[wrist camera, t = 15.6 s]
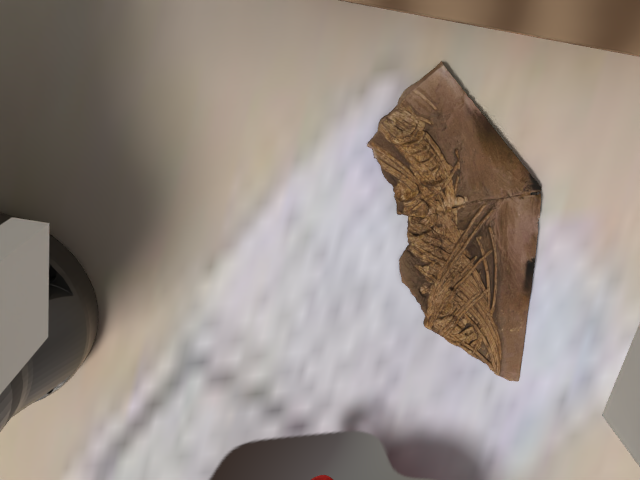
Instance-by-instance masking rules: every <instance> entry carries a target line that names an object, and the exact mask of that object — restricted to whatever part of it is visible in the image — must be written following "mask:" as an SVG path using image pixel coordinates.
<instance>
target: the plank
mask: <svg viewBox="0 0 640 480" xmlns="http://www.w3.org/2000/svg"><path fill="white" fill-rule="evenodd" d="M340 1H346V2H351V3H356V4H362V5H367V6H372V7H378V8H383V9H388V10H394V11H399V12H404V13H410V14H415V15H420V16H426V17H431V18H436V19H442V20H447V21H452V22H458V23H463V24H469V25H474V26H479V27H485V28H490V29H495V30H501V31H506V32H511V33H517V34H522V35H527V36H533V37H538V38H543V39H549V40H554V41H559V42H565V43H570V44H575V45H581V46H586V47H591V48H597V49H602V50H607V51H613V52H618V53H623V54H629V55H634V56H639V57H640V0H340Z"/></svg>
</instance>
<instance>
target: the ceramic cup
mask: <svg viewBox="0 0 640 480" xmlns="http://www.w3.org/2000/svg"><path fill="white" fill-rule="evenodd" d="M311 480H333V479H332V478H330V477H329V476H326V475H320V476H317V477H314V478H313V479H311Z"/></svg>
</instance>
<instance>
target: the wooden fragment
mask: <svg viewBox="0 0 640 480" xmlns="http://www.w3.org/2000/svg"><path fill="white" fill-rule="evenodd" d="M367 146H368V147H370V148H372V150H373V153H374V158H376V159H377V161H378V162H379V164H380V165H381V169H382V173H383V175H384V177H385V178H386V179H387V181H388V182H389V183H390V184H392V185H393V191H394V192H395V195H394V197H395V200H396V203H397V214H398V215H401V214H403V215H407V216H408V228H407V229H408V232H407V237H408V243H409V245H408V246H407V247H406V250H405V251H404V252H403V255H402V256H401V258H400V260H399V265H400V273H401V277H402V283H404V284H405V285H406V286H407V287H408V288H409V289H410V291H411V293H412V295H414V296H415V298H416V300H417V302H418V303H420V305H421V309H422V310H423V312H424V314H425V316H426V317H425V319H424V323H423V324H424V326H425V327H426V328H428V329H430V330H432V331H433V332H435V333H437V334H439V335H440V336H442V337H444V338H445V339H446V340H447V341H448V342H449V343H451V344H453V345H455V346H459V347H461V348H462V349H463V350H465V351H466V352H467V353H468V354H470V355H471V356H473V357H475V358H476V359H479V360H481V361H482V362H483V363H486V364H487V365H488V366H489V368H490V369H491V370H492V371H493V372H494V373H495V374H496V375H498V376H501V377H503V378H505V379H507V380H509V381H519V377H520V369H521V361H522V354H523V347H524V338H525V331H526V322H527V314H528V306H529V299H530V294H531V287H532V277H533V270H534V263H535V254H536V245H537V235H538V227H537V226H538V223H537V222H538V221H539V220H538V218H540V205H541V193H539V194H538V195H537V192H540V191H541V187H540V185H539V184H538V183H537V181H535V179H534V178H532V176H531V175H530V173H529V172H528V171H527V169H526V168H525V167H524V166H523V165H522V163H521V162H520V161H519V160H518V158H517V157H516V156H515V154H514V153H513V152H512V150H511V149H510V148H509V147H508V146H507V144H506V143H505V142H504V141H503V140H502V138H501V137H500V136H499V134H498V133H497V132H496V131H495V129H494V128H493V127H492V125H491V124H490V123H489V122H488V120H487V119H486V117H485V116H484V115H482V113H481V112H480V110H479V109H478V108H477V107H476V106H475V104H474V103H473V101H472V100H471V99H470V98H468V95H467V94H466V92H465V91H464V90H463V89H462V88H461V86H460V85H459V84H458V83H457V81H456V80H455V79H454V78H453V77H452V75H451V74H450V73H449V71H448V70H447V69H446V68H445V66H444V65H443V63H442V61H441V62H440V63H439V64H438V65H437V66H436V67H435V68H434V69H433V70H431V71H430V72H429V73H428V74H426V75H425V76H424V77H423V78H422V79H420V80H419V81H418V82H416V83H414V84H413V85H411V86H410V87H408V88H407V89H406V90H405V91H404V92H403V93H402V95H401V97H400V98H399V101H398V105H397V106H396V107H395V108H394V109H393V110H392V111H391V112H390V113H389V114H388V115H386V116H384V117H383V118H381V120H380V122H379V125H378V132H377V133H376V134H375V135H374V136H373V138H372V139H371V140H370V141H369V142H368V144H367ZM532 192H536V195H531V194H530V193H532Z"/></svg>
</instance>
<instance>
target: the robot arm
mask: <svg viewBox="0 0 640 480" xmlns="http://www.w3.org/2000/svg"><path fill="white" fill-rule="evenodd" d="M97 328H98V307H97V301H96V297H95V293H94V290H93V287H92V285H91V283H90V280H89V279H88V277H87V275H86V273H85V271H84V270H83V268H82V267H81V265H80V264H79V262H78V261H77V260H76V259H75V257H74V256H73V255H72V254H71V253H70V252H69V251H68V250H67V249H66V248H65V247H64V246H63V245H62V244H61V243H60V242H59V241H57V240H56V239H55V238H54V237H52V236H51V235H49V223H45V222H39V221H33V220H26V219H20V218H15V217H12V216H9V215H5V214H0V432H1V430H2V429H3V427H4V426H5V425H6V424H7V422H8V421H9V420H10V418H11V417H13V416H14V415H16V414H17V413H18V412H20V411H21V410H23V409H24V408H26V407H27V406H29V405H30V404H32V403H34V402H36V401H39V400H41V399H43V398H45V397H47V396H48V395H50V394H52V393H54V392H55V391H57V390H58V389H59V388H61V387H62V386H63V385H64V384H65V383H66V382H67V381H68V380H69V379H70V378H71V377H72V376H73V375H74V374H75V373H76V371H77V370H78V368H79V367H80V366H81V364H82V363H83V361H84V360H85V358H86V357H87V355H88V354H89V352H90V350H91V348H92V346H93V343H94V341H95V337H96V334H97ZM602 416H603V417H604V419H605V420H606V421H607V423H608V424H609V425H610V427H611V428H612V430H613V431H614V432H615V434H616V435H617V436H618V438H619V439H620V441H621V442H622V443H623V445H624V446H625V447H626V449H627V450H628V452H629V453H630V454H631V456H632V457H633V458H634V460H635V461H636V463H637V464H638V465H639V467H640V324H639V326H638V329H637V331H636V333H635V336H634V338H633V341H632V343H631V346H630V348H629V351H628V353H627V355H626V358H625V360H624V363H623V365H622V368H621V370H620V372H619V375H618V377H617V380H616V382H615V385H614V387H613V389H612V392H611V394H610V397H609V399H608V402H607V404H606V407H605V409H604V411H603V414H602Z"/></svg>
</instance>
